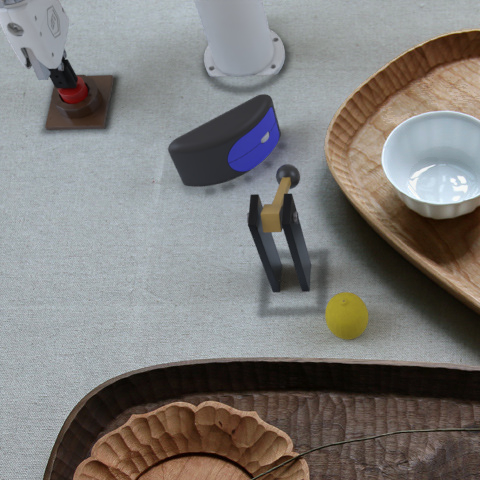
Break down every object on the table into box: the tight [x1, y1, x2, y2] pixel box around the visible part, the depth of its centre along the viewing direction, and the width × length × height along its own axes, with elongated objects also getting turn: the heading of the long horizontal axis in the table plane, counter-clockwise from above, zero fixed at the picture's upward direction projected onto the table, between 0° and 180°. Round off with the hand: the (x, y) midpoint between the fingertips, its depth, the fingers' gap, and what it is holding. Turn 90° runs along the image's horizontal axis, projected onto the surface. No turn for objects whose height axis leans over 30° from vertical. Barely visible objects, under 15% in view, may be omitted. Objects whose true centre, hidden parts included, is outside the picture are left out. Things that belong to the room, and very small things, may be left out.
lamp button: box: [58, 76, 88, 104], centre depth 122 cm, size 4×4×2 cm
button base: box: [44, 74, 115, 131], centre depth 124 cm, size 10×9×2 cm
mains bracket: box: [246, 192, 312, 293], centre depth 103 cm, size 9×8×17 cm
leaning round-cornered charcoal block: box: [167, 93, 282, 188], centre depth 114 cm, size 16×5×9 cm, turn 123°
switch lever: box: [261, 163, 301, 233], centre depth 102 cm, size 16×3×3 cm, turn 179°
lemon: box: [324, 291, 369, 341], centre depth 104 cm, size 6×6×8 cm
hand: (67, 84), depth 121 cm, fingers closed
